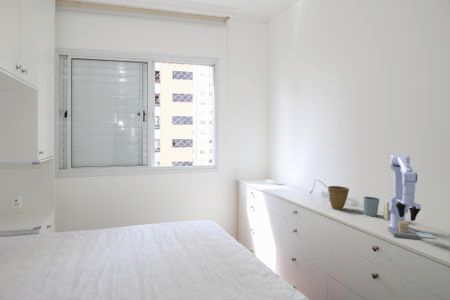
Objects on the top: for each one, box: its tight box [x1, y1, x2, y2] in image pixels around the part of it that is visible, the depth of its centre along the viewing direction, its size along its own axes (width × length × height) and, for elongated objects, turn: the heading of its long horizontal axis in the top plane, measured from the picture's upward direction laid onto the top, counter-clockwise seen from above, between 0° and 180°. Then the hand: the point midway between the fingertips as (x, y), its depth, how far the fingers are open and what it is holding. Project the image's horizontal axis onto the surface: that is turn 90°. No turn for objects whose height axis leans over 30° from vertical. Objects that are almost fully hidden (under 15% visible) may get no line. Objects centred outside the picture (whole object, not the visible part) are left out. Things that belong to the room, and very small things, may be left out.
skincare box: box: [383, 200, 396, 221], centre depth 213 cm, size 6×4×12 cm
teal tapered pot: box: [363, 196, 380, 217], centre depth 224 cm, size 10×10×12 cm
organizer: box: [387, 226, 420, 240], centre depth 180 cm, size 14×12×2 cm
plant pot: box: [327, 185, 350, 211], centre depth 241 cm, size 15×15×16 cm
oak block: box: [398, 221, 409, 233], centre depth 180 cm, size 4×4×7 cm
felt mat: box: [414, 231, 436, 240], centre depth 179 cm, size 9×9×1 cm
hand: (407, 218), depth 175 cm, fingers open, 7 cm apart
